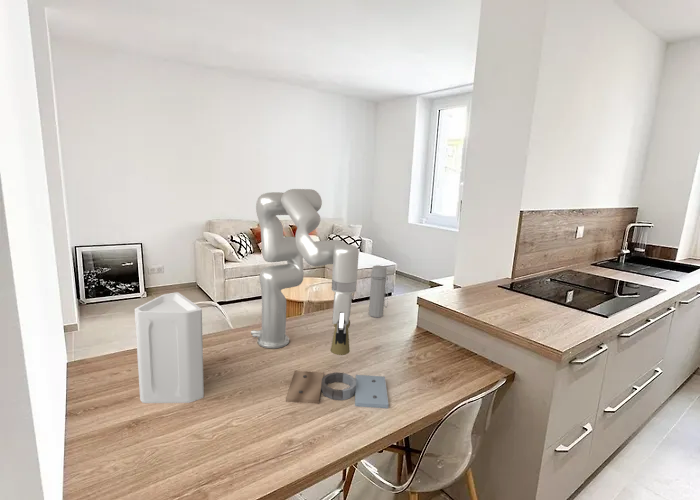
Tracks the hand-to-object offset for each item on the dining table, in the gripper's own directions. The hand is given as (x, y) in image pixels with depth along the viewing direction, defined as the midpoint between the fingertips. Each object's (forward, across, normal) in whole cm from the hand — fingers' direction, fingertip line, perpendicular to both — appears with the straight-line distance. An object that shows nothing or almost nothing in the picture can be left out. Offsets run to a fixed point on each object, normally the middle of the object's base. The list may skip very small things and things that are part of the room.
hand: (340, 340), depth 117 cm
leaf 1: (+17, 0, -7) cm, 18 cm away
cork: (+3, 0, 0) cm, 3 cm away
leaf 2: (+17, 0, +8) cm, 19 cm away
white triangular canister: (+17, +7, -52) cm, 55 cm away
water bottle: (+17, -67, +16) cm, 71 cm away
